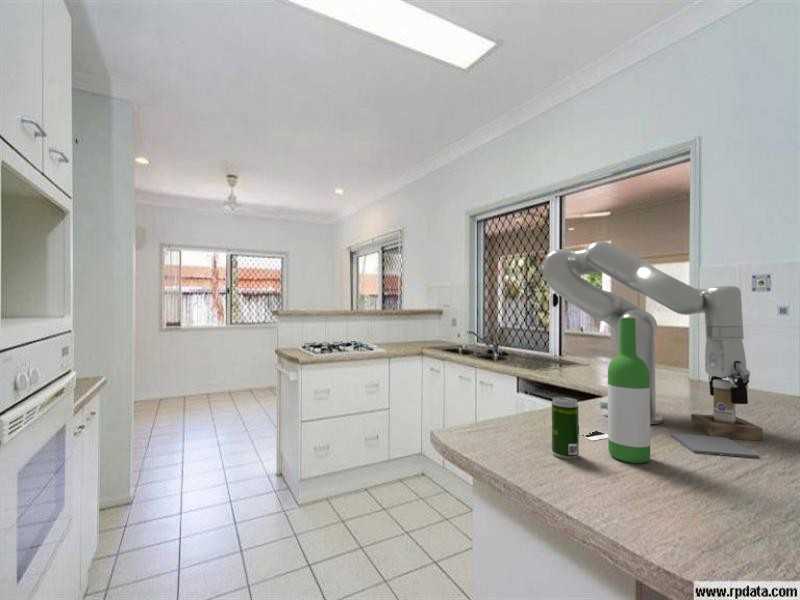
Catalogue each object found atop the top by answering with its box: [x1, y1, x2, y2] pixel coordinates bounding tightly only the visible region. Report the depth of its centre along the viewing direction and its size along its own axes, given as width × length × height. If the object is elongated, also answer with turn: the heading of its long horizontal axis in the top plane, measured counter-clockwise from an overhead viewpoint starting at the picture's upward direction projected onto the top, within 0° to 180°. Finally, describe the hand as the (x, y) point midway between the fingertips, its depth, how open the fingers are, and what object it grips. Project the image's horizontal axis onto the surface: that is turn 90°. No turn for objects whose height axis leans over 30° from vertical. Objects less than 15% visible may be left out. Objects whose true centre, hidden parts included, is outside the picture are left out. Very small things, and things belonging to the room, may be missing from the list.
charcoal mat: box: [669, 433, 760, 459], centre depth 89 cm, size 12×12×1 cm
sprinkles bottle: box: [712, 379, 736, 424], centre depth 99 cm, size 5×5×13 cm
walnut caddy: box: [690, 413, 764, 441], centre depth 99 cm, size 10×10×3 cm
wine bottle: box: [607, 318, 651, 464], centre depth 82 cm, size 8×8×30 cm
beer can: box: [551, 396, 580, 460], centre depth 83 cm, size 5×5×12 cm
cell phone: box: [582, 430, 608, 442], centre depth 101 cm, size 8×16×1 cm, turn 24°
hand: (728, 399), depth 99 cm, fingers open, 9 cm apart
